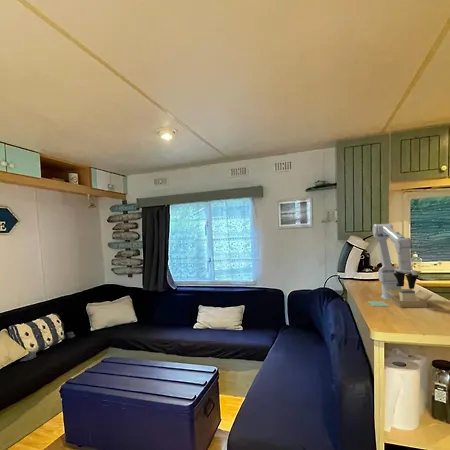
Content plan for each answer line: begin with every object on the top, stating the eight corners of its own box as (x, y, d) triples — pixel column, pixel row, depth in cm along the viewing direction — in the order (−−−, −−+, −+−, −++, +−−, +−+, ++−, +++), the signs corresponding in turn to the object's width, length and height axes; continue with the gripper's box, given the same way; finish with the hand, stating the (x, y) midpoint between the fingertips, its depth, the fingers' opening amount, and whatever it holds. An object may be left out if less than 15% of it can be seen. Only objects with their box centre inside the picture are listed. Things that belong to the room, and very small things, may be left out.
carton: (383, 300, 168) (382, 289, 169) (418, 300, 164) (417, 288, 165) (394, 307, 151) (393, 295, 151) (433, 308, 147) (432, 294, 147)
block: (400, 303, 159) (399, 289, 159) (412, 303, 158) (411, 289, 158) (403, 304, 155) (402, 291, 155) (416, 304, 153) (414, 291, 154)
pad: (367, 302, 166) (367, 301, 166) (382, 302, 164) (382, 301, 164) (372, 307, 154) (372, 305, 154) (389, 307, 153) (389, 306, 153)
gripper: (388, 260, 162) (390, 285, 161) (406, 262, 147) (408, 290, 147) (400, 260, 162) (402, 285, 162) (420, 261, 148) (422, 289, 147)
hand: (406, 287), depth 154 cm, fingers open, 7 cm apart
